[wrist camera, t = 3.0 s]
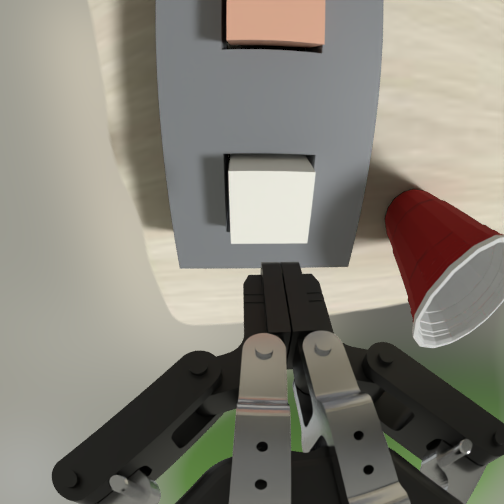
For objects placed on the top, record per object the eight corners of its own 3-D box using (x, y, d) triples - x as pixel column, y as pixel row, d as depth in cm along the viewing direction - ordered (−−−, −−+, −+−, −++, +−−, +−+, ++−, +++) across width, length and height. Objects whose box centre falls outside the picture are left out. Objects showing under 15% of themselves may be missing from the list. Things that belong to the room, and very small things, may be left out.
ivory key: (302, 151, 19) (315, 172, 16) (297, 212, 22) (307, 243, 19) (231, 150, 19) (228, 171, 16) (232, 212, 22) (230, 243, 19)
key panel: (354, -35, 12) (380, -54, 8) (333, 232, 27) (348, 266, 23) (176, -43, 12) (159, -65, 8) (189, 232, 26) (179, 268, 22)
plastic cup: (423, 267, 30) (471, 350, 20) (344, 249, 28) (384, 352, 18) (469, 185, 23) (544, 256, 14) (390, 146, 22) (478, 220, 12)
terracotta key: (309, -17, 12) (324, -34, 9) (308, 47, 15) (324, 44, 12) (230, -21, 12) (227, -40, 9) (230, 45, 15) (226, 39, 11)
